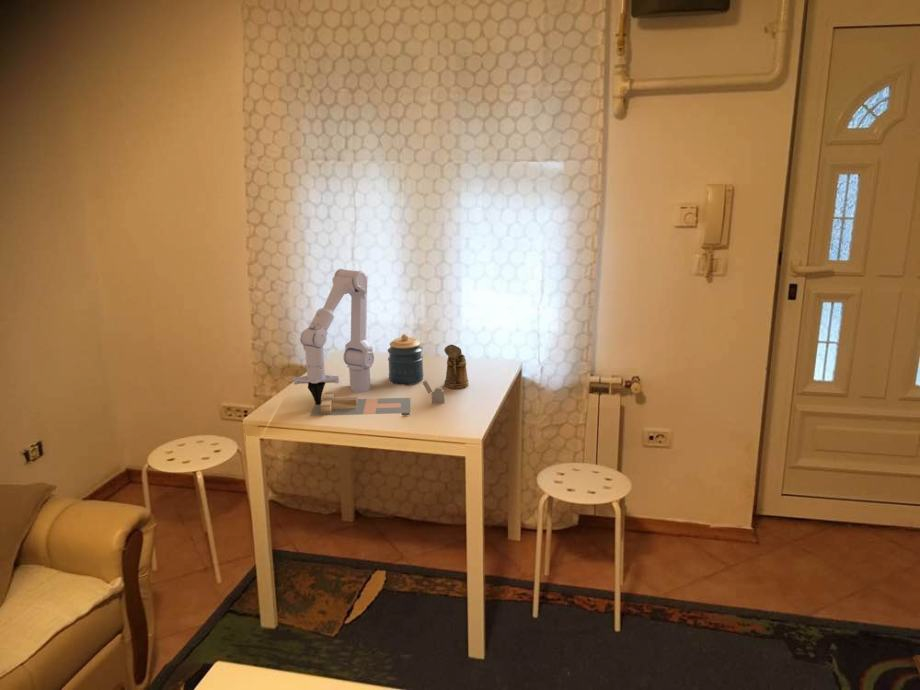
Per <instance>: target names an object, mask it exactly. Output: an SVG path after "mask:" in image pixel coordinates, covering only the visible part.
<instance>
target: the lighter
mask: <svg viewBox="0 0 920 690" xmlns="http://www.w3.org/2000/svg"><path fill="white" fill-rule="evenodd" d="M422 385H423V386H424V389H425V390H426V391H427V393H428V394H431V404H433V405H437V404H445V389H442V387H435V388H434V389H431V386H430V385H429V383H428V381H427V380H424V381H422Z"/></svg>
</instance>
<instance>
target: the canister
mask: <svg viewBox="0 0 920 690" xmlns="http://www.w3.org/2000/svg"><path fill="white" fill-rule="evenodd" d="M389 346H390V347H388V349H387V353H388V356H389V357H388V358H387V360H388V379H389V382H390V383H392V384H395V385H405V386H408V385H415V384H419V383H421V382H423V380H424V375H425V374H424V368H423V367H424V363H423V362H424V361H423V360H424V356H423V355H422V352H423V350H424V349H423V347H422V346H421V341H419V340H417V339H416V338H414V337H409V335H408V334H407V333H403V334H402V335H401V336H400V337H397V338H395V339H393V340H392V341H390V343H389Z"/></svg>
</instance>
